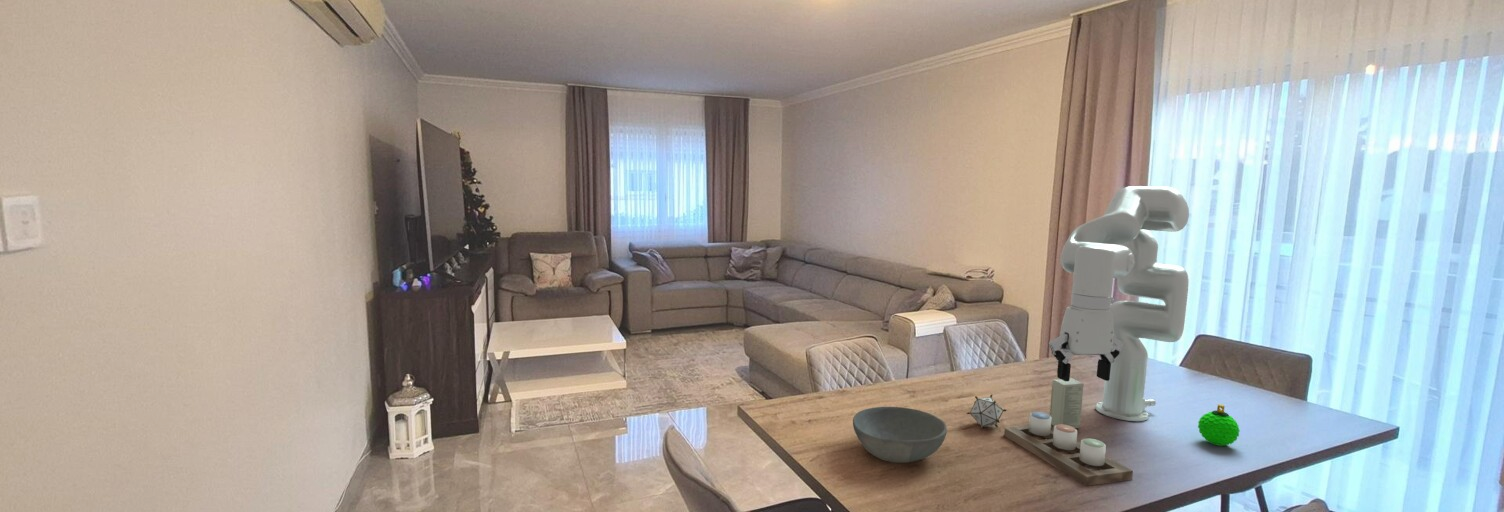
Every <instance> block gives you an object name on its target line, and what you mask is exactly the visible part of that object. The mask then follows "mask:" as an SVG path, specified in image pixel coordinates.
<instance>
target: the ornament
mask: <svg viewBox="0 0 1504 512" xmlns="http://www.w3.org/2000/svg"><path fill="white" fill-rule="evenodd" d="M1197 428H1198V431H1199V433H1200V435H1201V437H1202V438H1203V439H1205V441H1206V442H1209V443H1210V444H1213V446H1214V445H1215V446H1219V447H1220V446H1221V447H1222V446H1226V447H1227V446H1228V445H1232V444H1234V442H1236V441H1237V440H1238V438H1239V436H1240V432H1241V431H1240V427H1239V424H1238V422H1237V421H1236V420H1235V419H1234V417H1232V416H1231V415H1230V414H1229V413H1228V412H1225V405H1224V404H1217V409H1216V410H1213V411H1209V412H1207V413H1205V414H1203V415H1202V416H1201V417H1200V418H1199V420H1198V425H1197Z"/></svg>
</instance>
